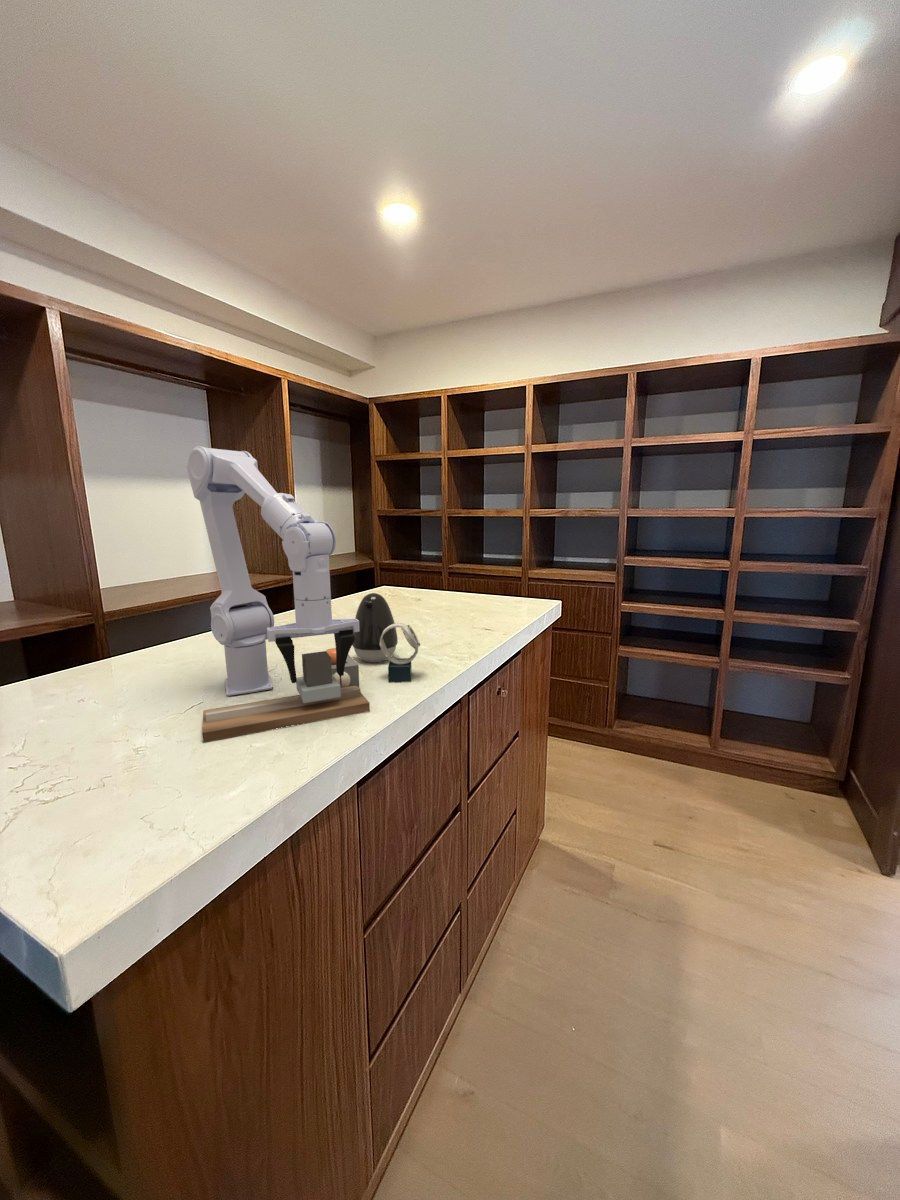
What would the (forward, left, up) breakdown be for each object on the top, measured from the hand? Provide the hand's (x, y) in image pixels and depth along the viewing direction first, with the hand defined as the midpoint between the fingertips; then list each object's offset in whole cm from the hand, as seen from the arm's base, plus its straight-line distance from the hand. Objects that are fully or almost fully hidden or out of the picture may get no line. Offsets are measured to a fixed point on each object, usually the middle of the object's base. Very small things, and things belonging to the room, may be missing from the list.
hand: (317, 677), depth 80 cm
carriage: (0, 0, -3) cm, 3 cm away
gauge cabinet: (-10, +5, -6) cm, 12 cm away
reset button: (-10, +5, -1) cm, 11 cm away
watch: (-9, +18, -6) cm, 21 cm away
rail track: (0, -5, -6) cm, 8 cm away
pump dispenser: (-23, +17, -6) cm, 29 cm away
